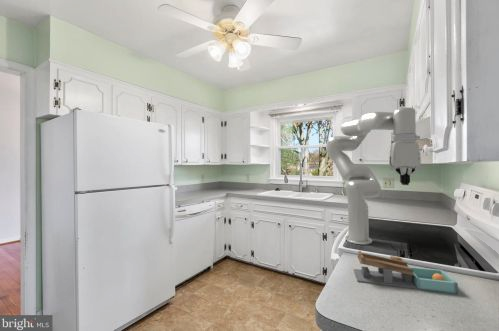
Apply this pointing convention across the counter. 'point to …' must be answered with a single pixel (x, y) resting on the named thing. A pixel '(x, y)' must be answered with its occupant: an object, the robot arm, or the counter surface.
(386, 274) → the lever stand
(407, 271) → the seesaw lever
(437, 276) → the ball
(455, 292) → the dish
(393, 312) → the counter surface
